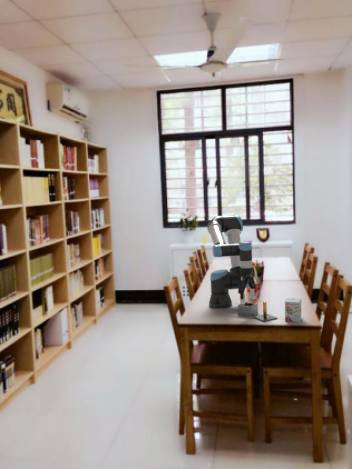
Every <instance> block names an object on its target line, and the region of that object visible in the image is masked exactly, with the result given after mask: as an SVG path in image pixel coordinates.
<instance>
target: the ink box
mask: <svg viewBox="0 0 352 469" xmlns="http://www.w3.org/2000/svg"><path fill="white" fill-rule="evenodd" d="M284 318H285V319H284V321H285V322H291V323H301V321H302V298H291V297H286V299H285V301H284Z"/></svg>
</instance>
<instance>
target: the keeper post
mask: <svg viewBox="0 0 352 469" xmlns="http://www.w3.org/2000/svg"><path fill="white" fill-rule="evenodd" d="M267 307H268V306H267V301H262V312H263V314H258V315H254V316H252V318H253V319H254V320H255V319H256V320H258V321H260V322H262V323H264V322H269V321H274V320H277V319H278V317H277V316H274V315H272V314H269V313H267V311H268V309H267Z"/></svg>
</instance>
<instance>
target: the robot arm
mask: <svg viewBox="0 0 352 469" xmlns="http://www.w3.org/2000/svg"><path fill="white" fill-rule="evenodd" d="M243 224H244V223H243V219H242V217H241V216H240V215H239V214H237V215H235V214H233V215H218V216H215V217H213V218H211V219H210V220H209V222H208V224H207V226H206V227H207V233H208V234H209V235H210V237H211V240H212V243H213V245H212V255H213V257H214V258H223V257H230V258H229V259H230V265H231V268H230V269H229V271H228V269H218V270H214V271H211V273H210V297H209V301H208V306H209V307H210V308H213V309H226V308H231V307H232V306H233V302H232V299H231V295H230V294H229V292H230V291H229V290H237V294H239V301H240V303H239V305H240V304H243V305H245V302H246V293H245V290H246V289H249V299H250V300H255V298H256V297H255V289H256V288H257V286H256V281H255V278H254V270H253V263H254V262H253V247H252V242H251V241H247V240H246V241H245V240H244V241H241V234H242V231H243V230H244V226H243ZM223 233H224V235H223ZM224 236H225V237H227V242H226V240H225V237H224ZM227 243H228V244H227Z"/></svg>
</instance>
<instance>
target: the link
mask: <svg viewBox="0 0 352 469" xmlns="http://www.w3.org/2000/svg"><path fill="white" fill-rule="evenodd" d="M258 312H259V306H258V303H257V302H249V301H247V302H246V301H245V305H243V304H240V303H239V304H238V305H237V315H238V316H242V317H247V318H248V317H249V318H253V316H256V315H257V314H259V313H258ZM255 314H256V315H255Z"/></svg>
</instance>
